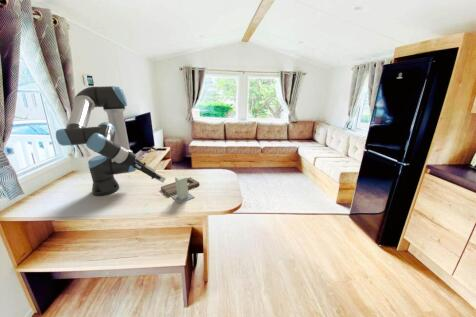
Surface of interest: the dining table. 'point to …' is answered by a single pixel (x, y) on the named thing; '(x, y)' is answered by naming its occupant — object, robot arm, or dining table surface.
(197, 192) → the dining table surface
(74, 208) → the dining table surface
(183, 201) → the mat
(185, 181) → the puzzle block
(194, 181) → the puzzle board
